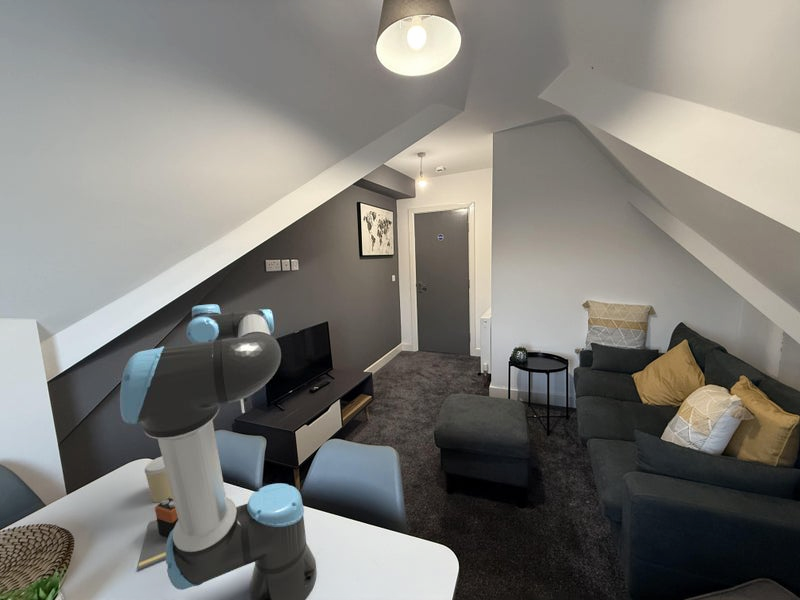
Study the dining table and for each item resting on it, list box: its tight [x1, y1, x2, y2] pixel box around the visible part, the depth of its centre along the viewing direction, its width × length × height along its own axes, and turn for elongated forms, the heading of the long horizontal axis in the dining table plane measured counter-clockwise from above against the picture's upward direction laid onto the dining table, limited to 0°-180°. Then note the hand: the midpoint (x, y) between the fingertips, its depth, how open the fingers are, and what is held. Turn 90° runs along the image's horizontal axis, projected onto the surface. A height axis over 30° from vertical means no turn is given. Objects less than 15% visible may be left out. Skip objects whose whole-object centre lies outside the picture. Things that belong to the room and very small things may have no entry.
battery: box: [154, 497, 178, 538], centre depth 94 cm, size 4×7×10 cm, turn 70°
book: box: [137, 519, 168, 572], centre depth 94 cm, size 18×14×1 cm
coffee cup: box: [144, 456, 173, 504], centre depth 110 cm, size 9×9×12 cm
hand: (219, 417), depth 104 cm, fingers open, 13 cm apart
